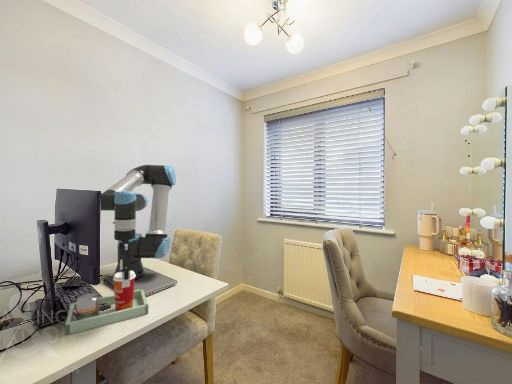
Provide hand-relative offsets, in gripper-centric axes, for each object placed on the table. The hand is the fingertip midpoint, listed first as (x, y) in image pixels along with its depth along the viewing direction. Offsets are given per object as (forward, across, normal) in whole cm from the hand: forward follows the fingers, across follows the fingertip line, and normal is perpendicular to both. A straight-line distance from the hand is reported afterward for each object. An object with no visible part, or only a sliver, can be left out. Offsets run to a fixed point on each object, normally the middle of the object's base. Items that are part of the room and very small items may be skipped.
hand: (124, 280), depth 95 cm
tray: (+13, 0, -5) cm, 14 cm away
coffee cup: (+12, 0, 0) cm, 12 cm away
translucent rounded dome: (+12, 0, -12) cm, 17 cm away
